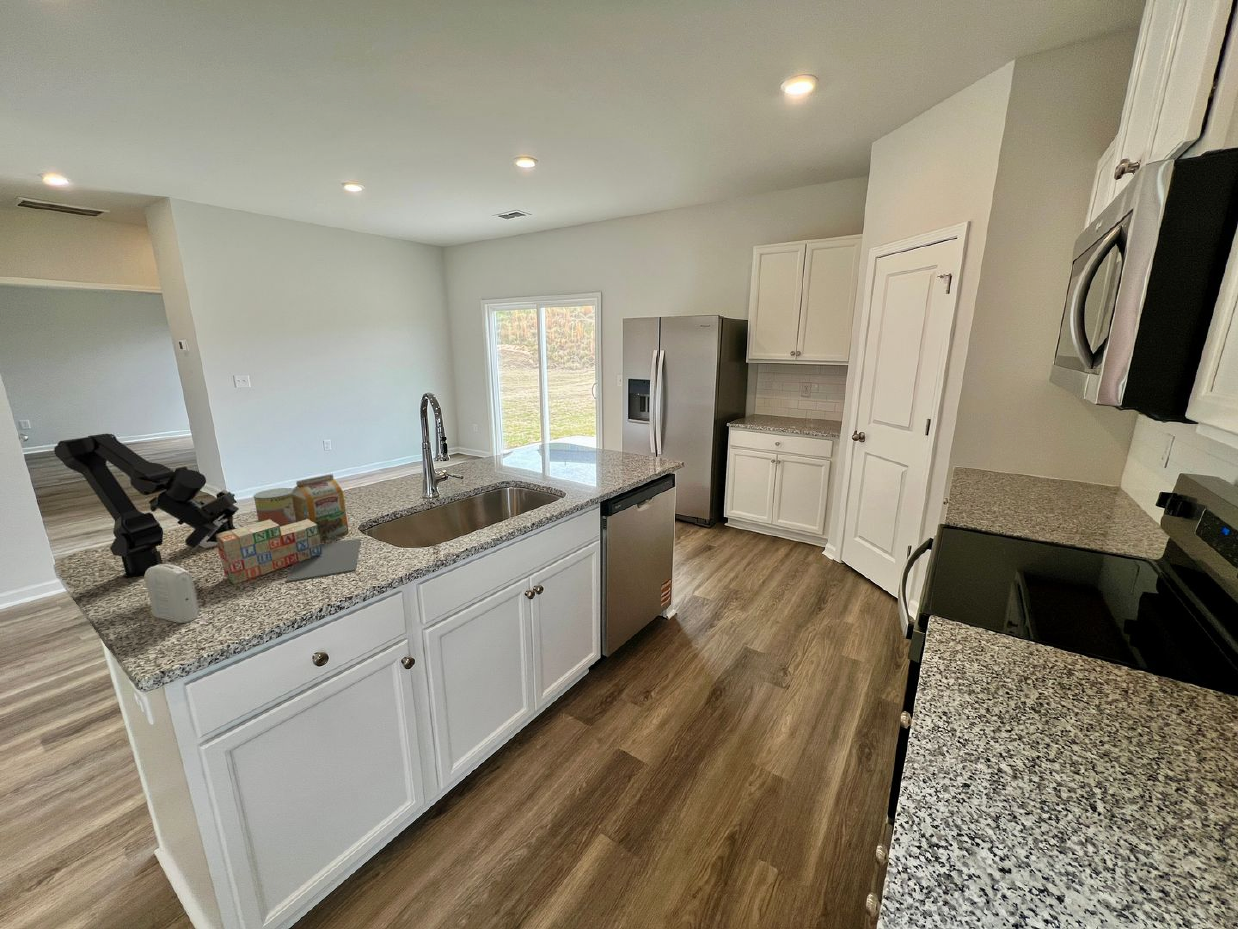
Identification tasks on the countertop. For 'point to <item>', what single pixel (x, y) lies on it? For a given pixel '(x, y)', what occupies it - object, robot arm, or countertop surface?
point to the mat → (327, 561)
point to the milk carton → (321, 505)
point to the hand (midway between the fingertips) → (245, 543)
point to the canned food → (275, 506)
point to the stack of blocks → (266, 548)
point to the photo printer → (171, 593)
